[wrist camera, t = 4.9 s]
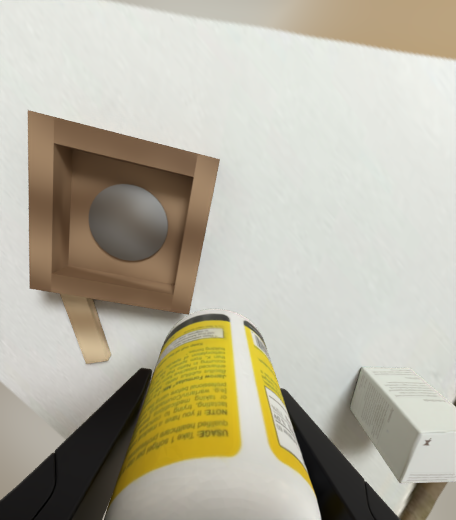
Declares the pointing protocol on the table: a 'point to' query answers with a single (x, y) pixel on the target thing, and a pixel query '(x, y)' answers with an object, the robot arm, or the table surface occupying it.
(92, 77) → the table surface
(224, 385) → the supplement bottle
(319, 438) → the robot arm
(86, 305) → the tan wooden flat bar
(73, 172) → the holder
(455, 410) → the skincare box
